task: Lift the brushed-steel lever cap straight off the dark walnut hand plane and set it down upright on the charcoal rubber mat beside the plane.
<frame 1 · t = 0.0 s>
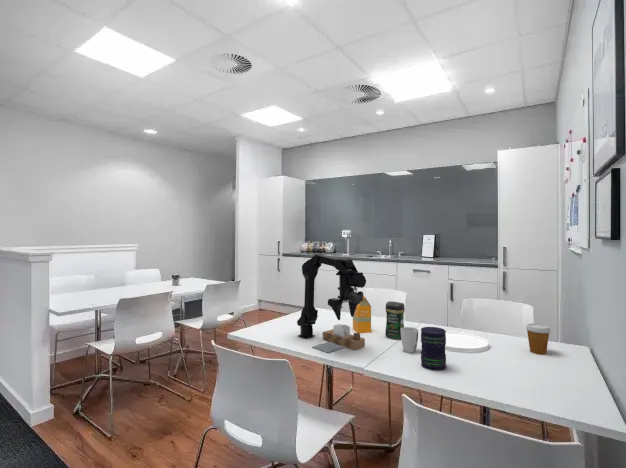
hand: (345, 318, 166), 15 cm above the table, tool pointing down, fingers open, 9 cm apart
orange juice: (361, 331, 198), on the table
cup: (409, 351, 163), on the table
rubber mat: (328, 347, 169), on the table
hand plane: (343, 343, 176), on the table
disposable coffee cup: (538, 352, 161), on the table
coffee jar: (395, 337, 185), on the table
plate: (457, 344, 174), on the table
lever cap: (341, 334, 176), point 4 cm above the table, touching hand plane
storage jar: (433, 366, 145), on the table
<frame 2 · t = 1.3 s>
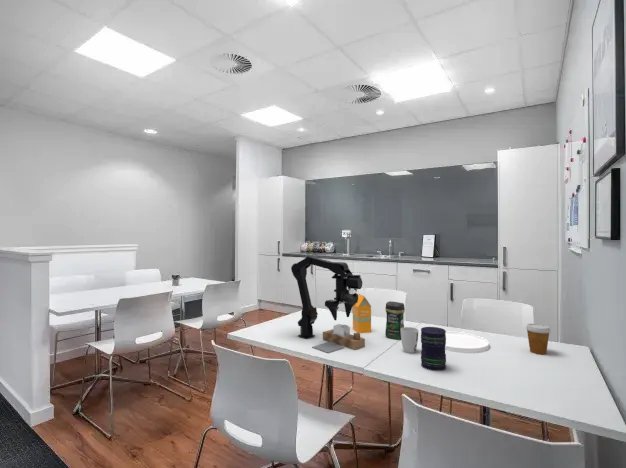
hand: (341, 318, 177), 12 cm above the table, tool pointing down, fingers open, 9 cm apart
nothing on the table moved.
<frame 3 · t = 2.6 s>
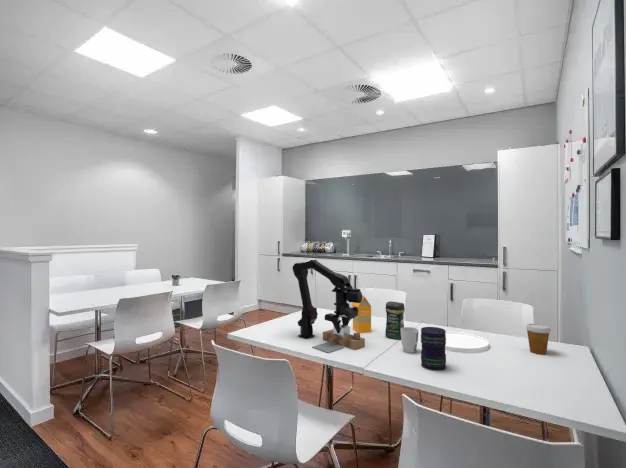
hand: (341, 332, 176), 5 cm above the table, tool pointing down, fingers closed on lever cap, 4 cm apart
lever cap: (341, 334, 176), point 4 cm above the table, touching gripper, hand plane
everything else where it was.
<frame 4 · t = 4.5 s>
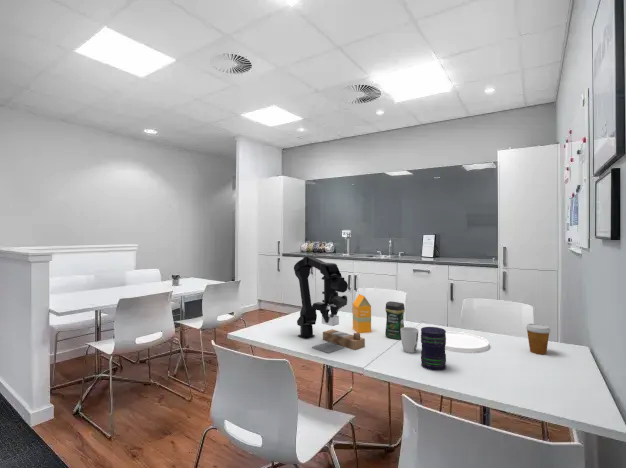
hand: (330, 322, 170), 12 cm above the table, tool pointing down, fingers closed on lever cap, 4 cm apart
lever cap: (330, 323, 170), point 11 cm above the table, touching gripper
everything else where it was.
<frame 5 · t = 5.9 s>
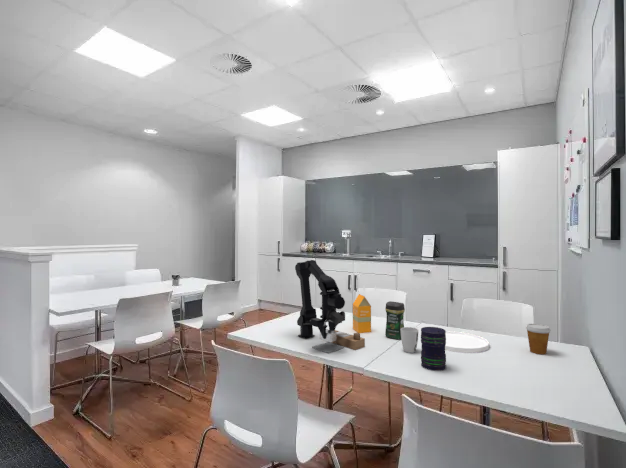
hand: (328, 337, 169), 5 cm above the table, tool pointing down, fingers closed on lever cap, 4 cm apart
lever cap: (328, 339, 169), point 4 cm above the table, touching gripper
everything else where it was.
when the fingers open (3 cm above the table, at t = 6.6 s): lever cap drops 2 cm, resting on rubber mat.
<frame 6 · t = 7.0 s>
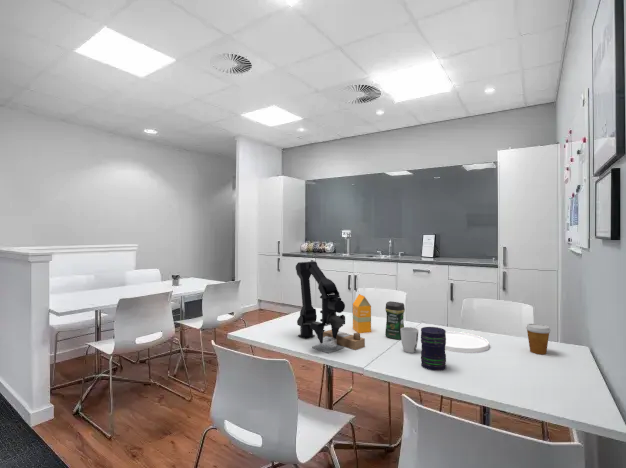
hand: (328, 341, 169), 3 cm above the table, tool pointing down, fingers open, 8 cm apart
lever cap: (328, 346, 169), resting on rubber mat
everything else where it was.
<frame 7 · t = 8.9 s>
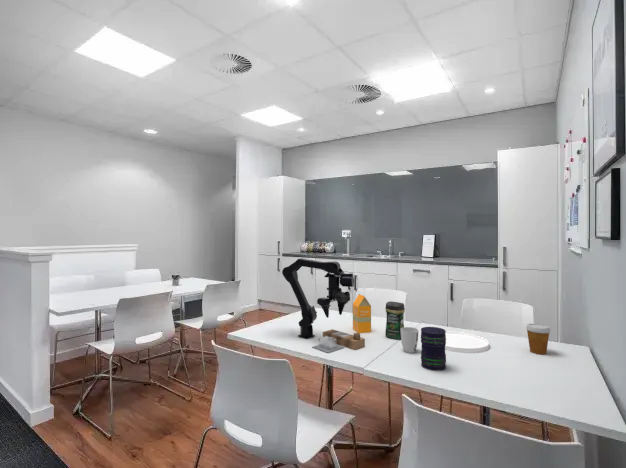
hand: (334, 316, 182), 12 cm above the table, tool pointing down, fingers open, 9 cm apart
nothing on the table moved.
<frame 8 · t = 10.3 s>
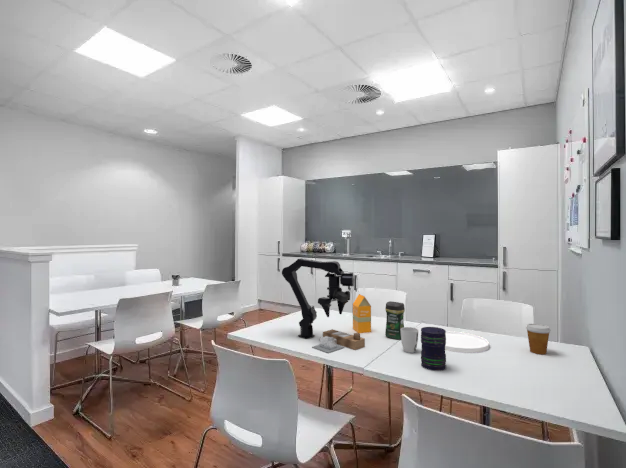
hand: (334, 315, 183), 12 cm above the table, tool pointing down, fingers open, 9 cm apart
nothing on the table moved.
at the end: lever cap inside the target area on the rubber mat (0.0 cm from its centre), point 0.4 cm above the rubber mat's base; lever cap tilted 0°; the gripper is holding nothing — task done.
